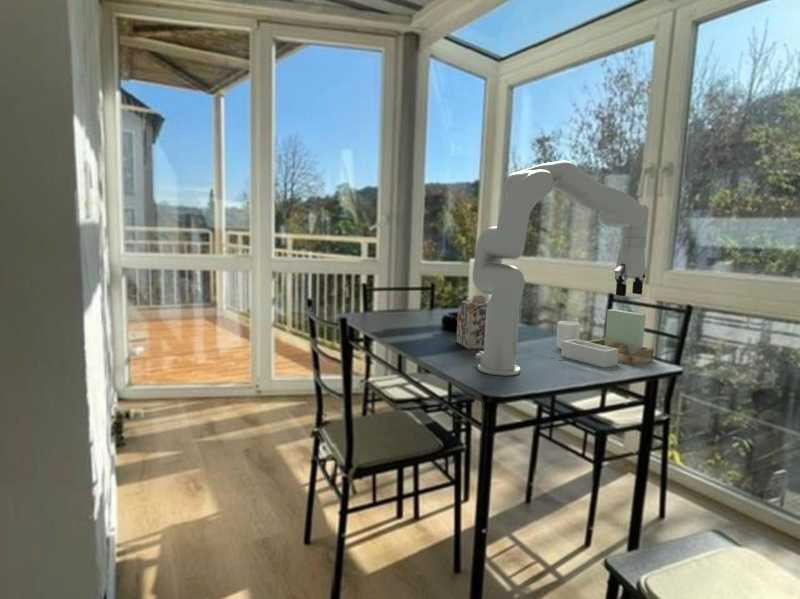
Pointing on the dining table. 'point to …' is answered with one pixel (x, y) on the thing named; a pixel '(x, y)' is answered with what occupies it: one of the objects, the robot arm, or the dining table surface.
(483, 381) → the dining table surface
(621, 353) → the offcut long
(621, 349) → the offcut short
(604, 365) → the holder
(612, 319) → the tall sheet
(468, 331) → the decorative jar
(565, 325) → the white cup
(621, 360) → the rack
